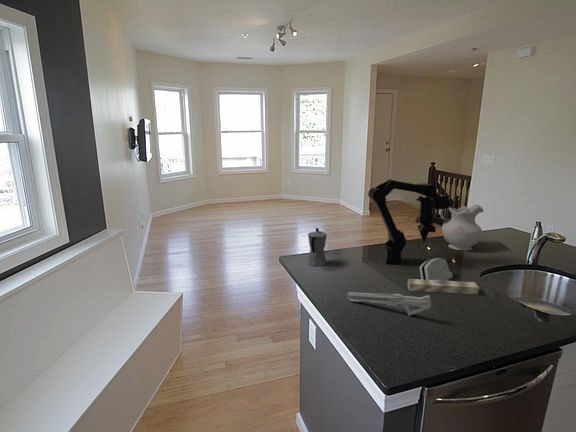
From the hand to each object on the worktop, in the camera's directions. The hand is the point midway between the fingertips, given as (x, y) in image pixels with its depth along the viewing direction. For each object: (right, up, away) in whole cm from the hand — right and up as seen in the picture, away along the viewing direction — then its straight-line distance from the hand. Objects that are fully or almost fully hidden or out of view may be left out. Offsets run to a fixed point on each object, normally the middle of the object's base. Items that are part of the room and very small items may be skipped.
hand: (423, 241), depth 173 cm
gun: (-31, -22, -44) cm, 58 cm away
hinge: (-3, -15, -19) cm, 25 cm away
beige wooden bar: (-4, -18, -30) cm, 35 cm away
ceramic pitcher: (+27, -5, +21) cm, 35 cm away
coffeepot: (-53, -11, 0) cm, 54 cm away
